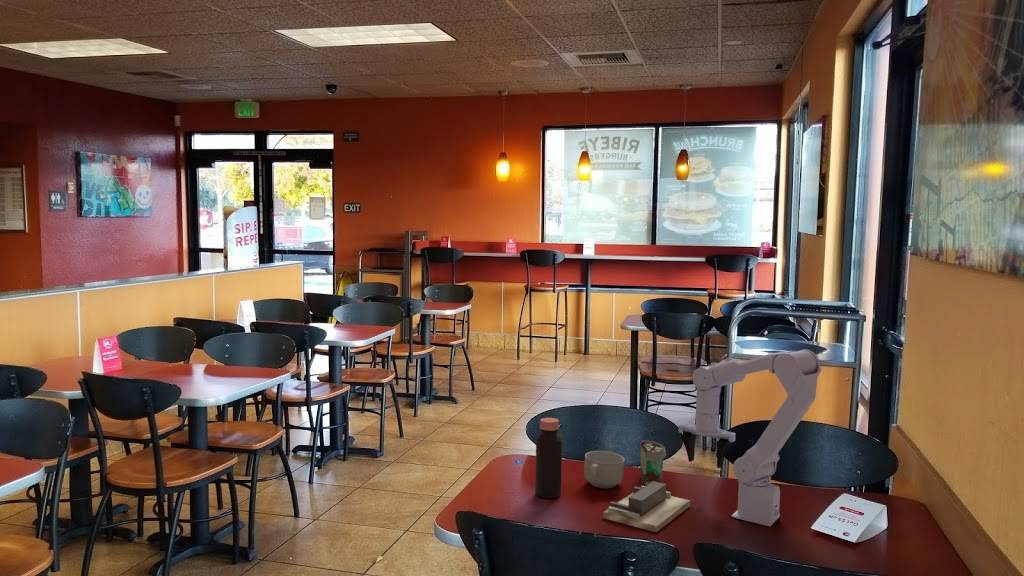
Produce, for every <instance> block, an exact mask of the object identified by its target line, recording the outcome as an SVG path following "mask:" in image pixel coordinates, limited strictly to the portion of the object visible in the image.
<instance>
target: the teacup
mask: <svg viewBox="0 0 1024 576" xmlns="http://www.w3.org/2000/svg"><path fill="white" fill-rule="evenodd" d="M625 461H626V460H625V457H624V456H622V455H620V454H619V453H615V452H612V451H607V450H594V451H593V450H591V451H588V452H586V453H585V455H584V467H583V468H584V477H585V479H586V480H587V482H589V484H591V486H594V487H596V488H598V489H611V488H612V489H613V488H614V487H616V486H617V485H618V484H620V483H621V481H622V479H623V475H624V469H625V467H624V466H625Z"/></svg>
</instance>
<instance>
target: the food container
mask: <svg viewBox="0 0 1024 576" xmlns="http://www.w3.org/2000/svg"><path fill="white" fill-rule="evenodd" d="M639 447H640V463H639V464H640V466H639V467H640V470H639V471H640V472H639V475H640V474H641V476H642V479H643V481H644V483H643V485H644V484H645V486H647V485H648V484H650V483H651V482H653V481H655V482H659V483H662V476H663V468H664V467H663V465H664V458H666V457H667V451H666V448H665V446H664V445H663V444H662V443H659V442H656V441H653V440H646V439H641V440H640V445H639ZM641 476H640V477H641ZM642 479H641V480H642ZM643 481H642V482H643Z"/></svg>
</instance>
